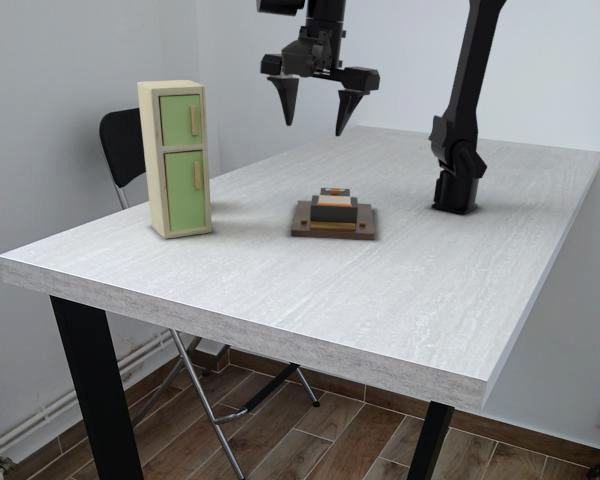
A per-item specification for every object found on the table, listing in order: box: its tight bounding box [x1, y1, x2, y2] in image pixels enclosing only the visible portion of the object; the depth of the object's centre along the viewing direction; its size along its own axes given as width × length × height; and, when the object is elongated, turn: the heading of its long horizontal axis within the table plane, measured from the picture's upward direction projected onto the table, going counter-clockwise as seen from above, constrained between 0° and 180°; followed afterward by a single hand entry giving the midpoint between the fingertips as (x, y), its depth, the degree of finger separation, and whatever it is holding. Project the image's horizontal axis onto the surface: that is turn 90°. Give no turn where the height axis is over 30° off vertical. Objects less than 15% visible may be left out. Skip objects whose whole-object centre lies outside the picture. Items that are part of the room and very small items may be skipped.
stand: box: [290, 200, 375, 241], centre depth 107 cm, size 16×13×2 cm
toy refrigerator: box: [136, 79, 213, 240], centre depth 96 cm, size 8×7×21 cm
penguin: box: [310, 187, 359, 223], centre depth 107 cm, size 11×8×3 cm
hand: (312, 130), depth 105 cm, fingers open, 9 cm apart
